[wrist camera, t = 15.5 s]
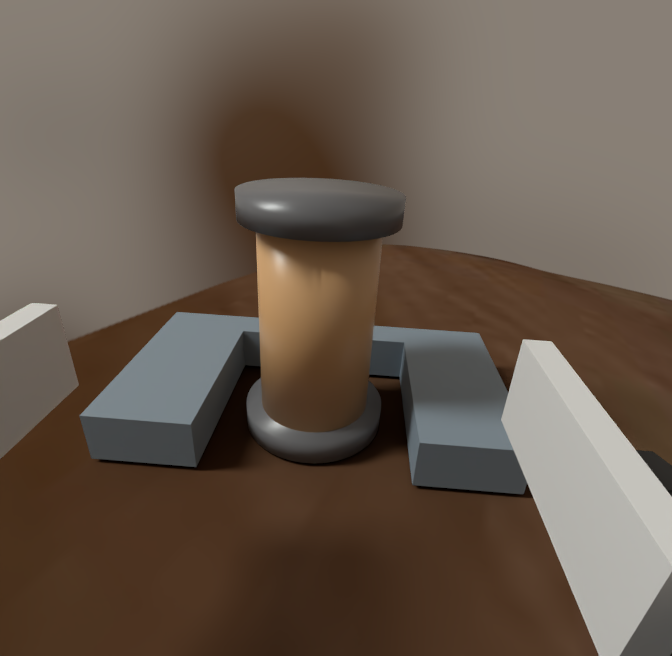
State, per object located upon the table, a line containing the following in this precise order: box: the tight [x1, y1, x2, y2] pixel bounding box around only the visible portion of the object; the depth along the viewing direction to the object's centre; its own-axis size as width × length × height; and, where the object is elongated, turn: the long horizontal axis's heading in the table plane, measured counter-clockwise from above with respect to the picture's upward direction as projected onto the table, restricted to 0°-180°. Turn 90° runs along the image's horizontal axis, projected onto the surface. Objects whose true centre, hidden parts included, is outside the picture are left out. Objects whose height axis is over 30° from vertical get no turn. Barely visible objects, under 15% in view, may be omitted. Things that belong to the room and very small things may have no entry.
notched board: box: [80, 312, 527, 494], centre depth 24 cm, size 20×11×2 cm, turn 86°
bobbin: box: [235, 178, 406, 463], centre depth 21 cm, size 7×7×12 cm
